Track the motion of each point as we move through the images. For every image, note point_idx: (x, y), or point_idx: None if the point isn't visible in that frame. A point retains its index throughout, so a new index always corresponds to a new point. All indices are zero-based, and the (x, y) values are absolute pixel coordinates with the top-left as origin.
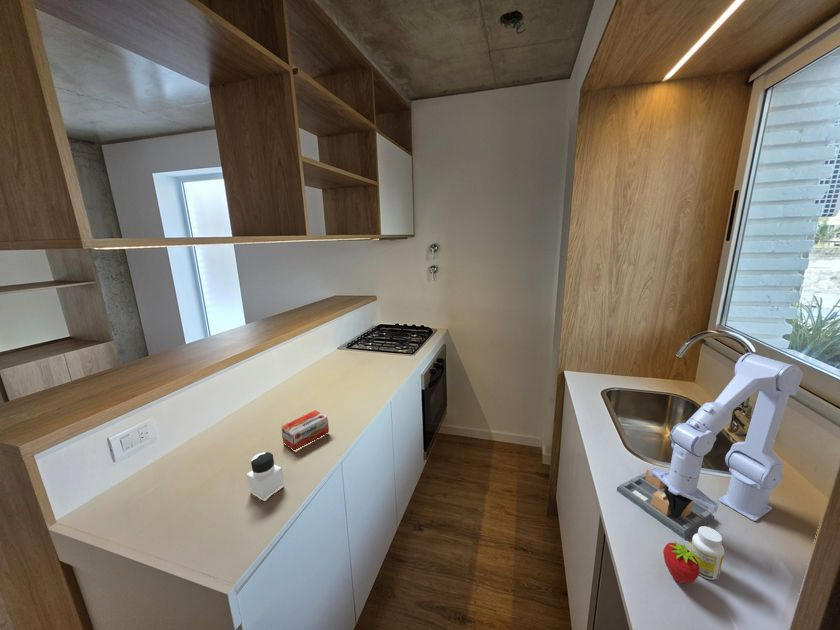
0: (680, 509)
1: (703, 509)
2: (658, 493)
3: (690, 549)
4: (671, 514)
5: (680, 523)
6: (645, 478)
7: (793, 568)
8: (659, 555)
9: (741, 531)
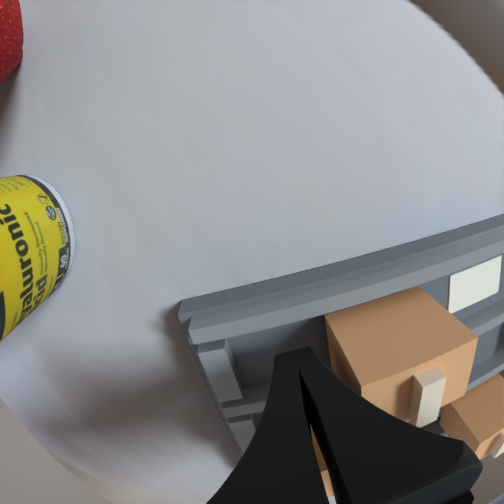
0: (256, 433)
1: None
2: (455, 379)
3: (3, 203)
4: (309, 349)
5: (262, 357)
6: (502, 378)
7: (79, 475)
8: (121, 60)
9: (196, 489)
